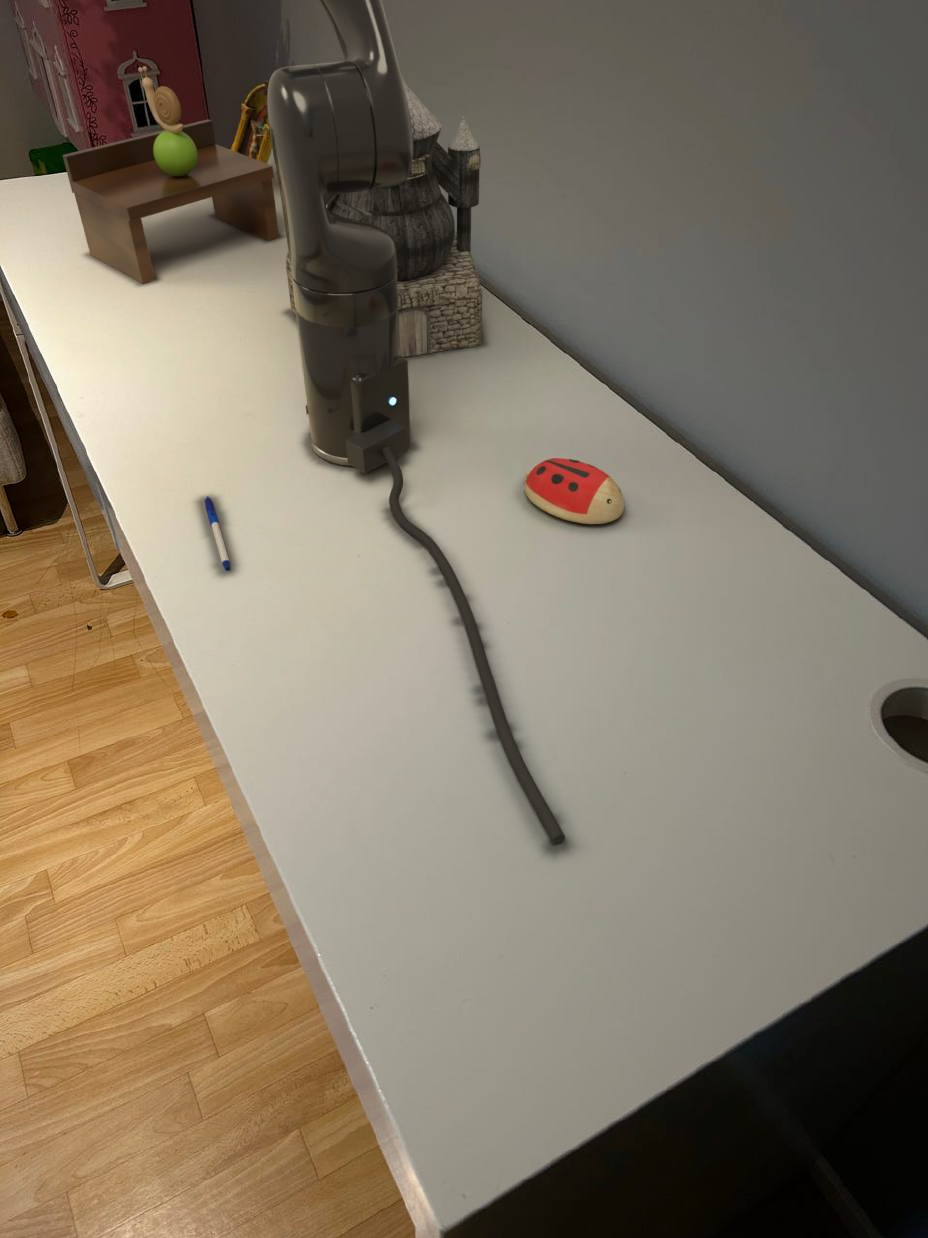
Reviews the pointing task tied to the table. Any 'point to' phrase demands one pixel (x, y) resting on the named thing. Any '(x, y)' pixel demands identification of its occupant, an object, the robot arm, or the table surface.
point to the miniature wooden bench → (163, 194)
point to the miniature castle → (428, 237)
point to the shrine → (254, 126)
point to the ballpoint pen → (217, 532)
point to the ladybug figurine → (574, 491)
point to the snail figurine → (169, 131)
